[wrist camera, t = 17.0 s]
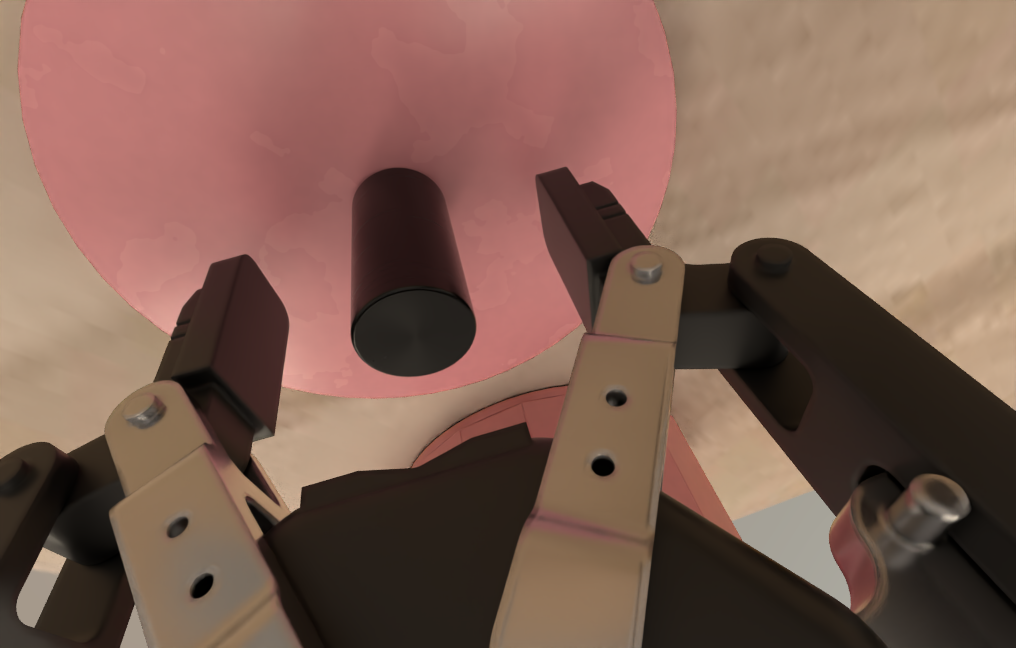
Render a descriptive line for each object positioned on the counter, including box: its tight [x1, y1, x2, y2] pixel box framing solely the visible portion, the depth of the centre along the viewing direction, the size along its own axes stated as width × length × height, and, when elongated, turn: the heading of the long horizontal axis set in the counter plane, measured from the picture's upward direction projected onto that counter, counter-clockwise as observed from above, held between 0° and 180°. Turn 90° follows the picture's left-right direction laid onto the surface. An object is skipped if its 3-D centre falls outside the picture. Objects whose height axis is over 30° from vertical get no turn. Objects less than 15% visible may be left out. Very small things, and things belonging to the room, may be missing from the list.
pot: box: [411, 386, 742, 540], centre depth 24 cm, size 14×14×8 cm
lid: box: [18, 0, 677, 399], centre depth 12 cm, size 15×15×6 cm
